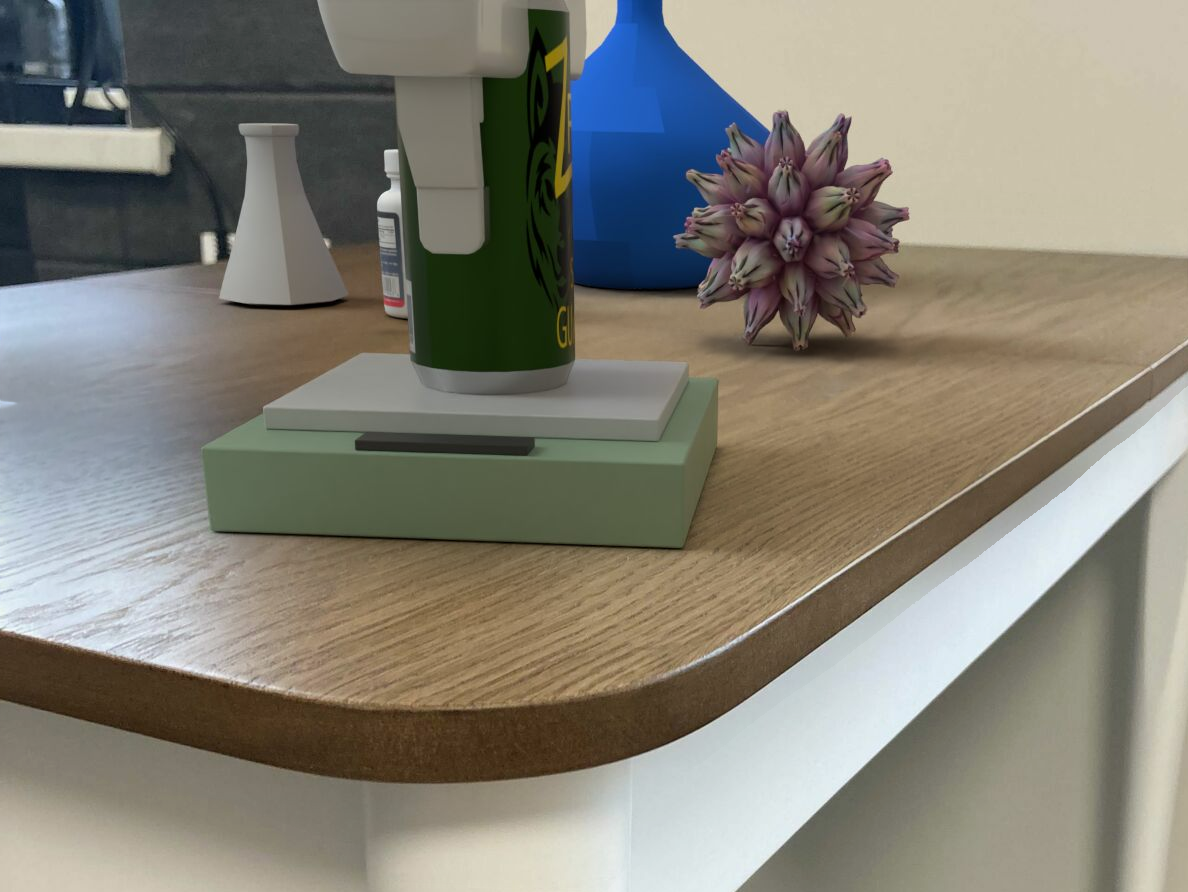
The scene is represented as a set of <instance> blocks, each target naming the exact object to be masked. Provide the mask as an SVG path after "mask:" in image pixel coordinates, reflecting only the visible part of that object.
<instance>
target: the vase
mask: <svg viewBox="0 0 1188 892" xmlns="http://www.w3.org/2000/svg"><path fill="white" fill-rule="evenodd" d="M663 3H664V1H663V0H616V15H615V16H616V17H615V21H614V25H613V26H612V28H611V29H610V31H609V32H608V34H607V35H606V37H605V38H604V40H603V41H602V42H601V44H600V45H599V46H598V47H597V48H595V50H593V52H592V53H590V54H589V56H587V57H585V63H584V69H583V73H582V76H581V77H580V78H579V79H578V80H576V81H571V136H572V197H573V257H574V284H577V285H581V286H586V287H593V288H601V289H614V290H646V291H647V290H649V291H650V290H676V289H678V290H679V289H687V288H688V289H689V288H696V287H699V285H700V284H701V283H702V282H703V281H704V280H705V279H706V277H707V274H708V270H709V267H710V265H711V263H712V261H713V259H714V258H708V257H705V256H702V255H701V254H700V253H698V252H695V251H693V250H691V249H686V248H676V246H677V244H676V240H675V239H674V236H675V235H678V234H684V233H686V232H685V231H686V227H685V225H684V224H685V223H686V221H687V217H692V212H693V211H694V209H695V208H706V207H707V206H709V204H708V203H707V202H706V200H705V199H704V198H703V196H702V195H701V193H700V191H699V190H698V188H697V187H696V185H694V184H693V183H691V182H690V181H688V180H687V178H686V172H687V171H688V170H690V169H693V170H696V171H698V172H700V173H706V174H719V175H723V176H724V173H723V170H722V168H721V167H720V166H719V164H718V162H717V160H716V154H718V155H721V151H722V150H727V149H728V148H730V149H731V146H730V139H729V137H728V135H727V133H726V130H725V129H726V128H729V126H730V125H733V123H736V125H737V126H738V128H739V129H740V130H741V132H742V133H744V134H745V135H746V136H748V137H750V138H751V139H753V140H755V141H757V142H758V143H759V144H761V145H762V146H763V148H764V147H765V144H766V141H767V139H768V137H769V135H770V133H771V131H770V130H769V129H768V128H767V127H766V126H765V125H764V124H762V122H760V120H758V119H757V118H756V117H755V116H753V114H752V113H750V112H749V111H748V110H747V109H746V108H745V107H744V106H743V105H742V104H740V103H739V102H738V101H737V100H736V99H735V98H734V97H732V95H731V94H729V93H728V92H727V91H726V90H725V89H724V88H722V86H720V84H719V83H717V82H716V80H714V78H713V77H711V75H709V74H708V73H707V71H706V70H704V69H703V68H702V67H701V66H700V65H699V64H698V63H697V62H696V61H695V60H694V59H693V58H692V57H691V56H690V55H689V54H688V53H686V51H684V50H683V49H682V48H681V47H680V46H679V45H678V42H677V41H676V40H675V39H674V37H673V35H672V33H670V30H669V29H668V28H667V26H666V24H665V18H664V11H663V5H664V4H663Z"/></svg>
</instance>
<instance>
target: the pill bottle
mask: <svg viewBox="0 0 1188 892" xmlns="http://www.w3.org/2000/svg"><path fill="white" fill-rule="evenodd" d="M383 157H384V158H383V159H384V160H383V161H384V173H386V178H388V179H390V189H389V190H386V191H384V192H382V194H380V196H379V197H378V199H377V202H376V210H377V211H376V213H377V214H376V216H377V227H378V239H379V240H378V241H379V256H380V268H381V282H382V283H381V284H382V294H383V306H384V312H385V314H387V316H390V317H393V318H397V319H398V318H399V319H406V320H408V309H407V292H406V275H405V258H404V242H403V225H402V208H401V191H400V174H399V157H398V148H396V149H394V148H393V149H385V150H384V152H383Z"/></svg>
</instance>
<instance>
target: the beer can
mask: <svg viewBox="0 0 1188 892" xmlns="http://www.w3.org/2000/svg"><path fill="white" fill-rule="evenodd" d="M528 29H529V55H528V60H527V66H526V70H525V71H524V73H523V74H522V75H521V76H519V77H517V78H489V77H482V84H483V111H484V119H483V122H481V123H480V137H481V151H482V164H483V178H484V186H489V192H490V224H491V238H490V240H489V242H488V243H487V245H486V246H485V247H483V248H482V249H480V250H478V251H476V252H474V253H471V254H437V253H432V252H430V251H429V250H427V249H426V248H424V246H423V244H422V242H421V240H420V233H419V217H418V201H417V187H416V186H415V183H414V180H413V176H412V172H411V169H410V165H409V162H408V158H407V155H406V151H405V147H404V144H403V140H402V137H401V133H400V129H399V126H398V120H397V103H396V86H395V76H393V87H394V89H393V90H394V105H395V107H394V108H395V120H396V121H395V122H396V139H397V149H398V157H399V174H400V191H401V208H402V225H403V242H404V258H405V275H406V292H407V309H408V319H407V323H408V324H407V325H408V339H409V340H408V341H409V354H410V359H411V362H412V364H413V367H414V369H415V371H416V373H417V375H418V377H419V379H420V381H421V383H422V384H423V385H425V386H426V387H428V388H432V389H436V390H439V391H446V392H454V393H464V394H519V393H531V392H538V391H546V390H550V389H554V388H558V387H560V386H562V385H564V384H565V383H566V382H567V379H568V377H569V374H570V372H571V369H572V367H573V364H574V362H575V359H576V326H575V325H576V324H575V322H576V321H575V319H576V318H575V317H576V316H575V283H574V257H573V197H572V136H571V76H570V16H569V10H568V8H567V6H566V4H565V1H564V0H528Z"/></svg>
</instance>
